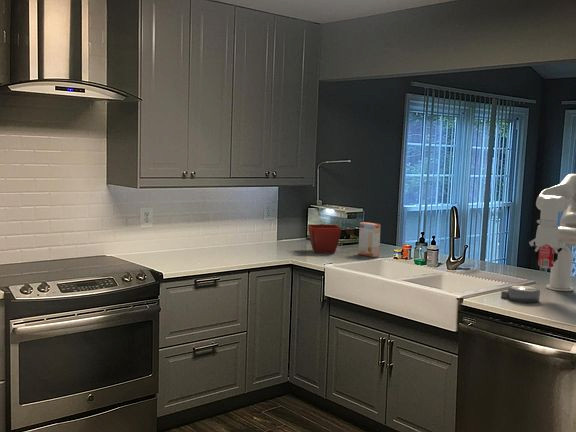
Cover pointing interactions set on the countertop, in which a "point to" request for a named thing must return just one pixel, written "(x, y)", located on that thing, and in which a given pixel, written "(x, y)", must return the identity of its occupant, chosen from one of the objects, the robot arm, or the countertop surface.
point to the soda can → (546, 256)
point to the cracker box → (369, 239)
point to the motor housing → (522, 294)
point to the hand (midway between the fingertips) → (546, 260)
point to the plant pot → (324, 238)
